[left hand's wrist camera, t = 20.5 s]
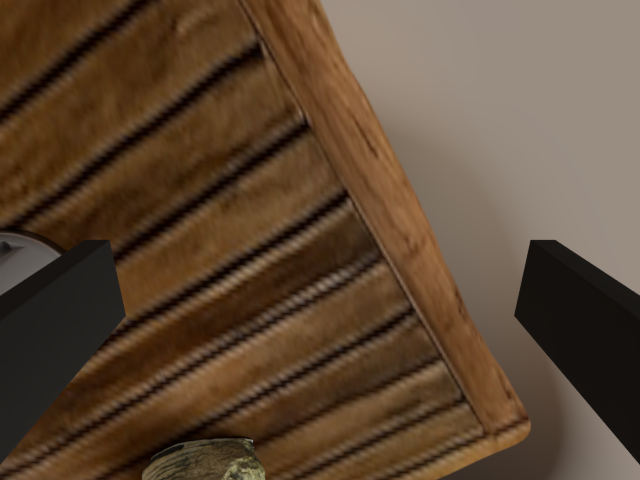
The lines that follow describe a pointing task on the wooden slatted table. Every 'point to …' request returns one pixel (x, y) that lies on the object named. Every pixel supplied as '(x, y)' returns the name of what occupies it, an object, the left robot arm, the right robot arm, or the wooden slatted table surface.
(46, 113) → the wooden slatted table surface
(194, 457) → the fossil
